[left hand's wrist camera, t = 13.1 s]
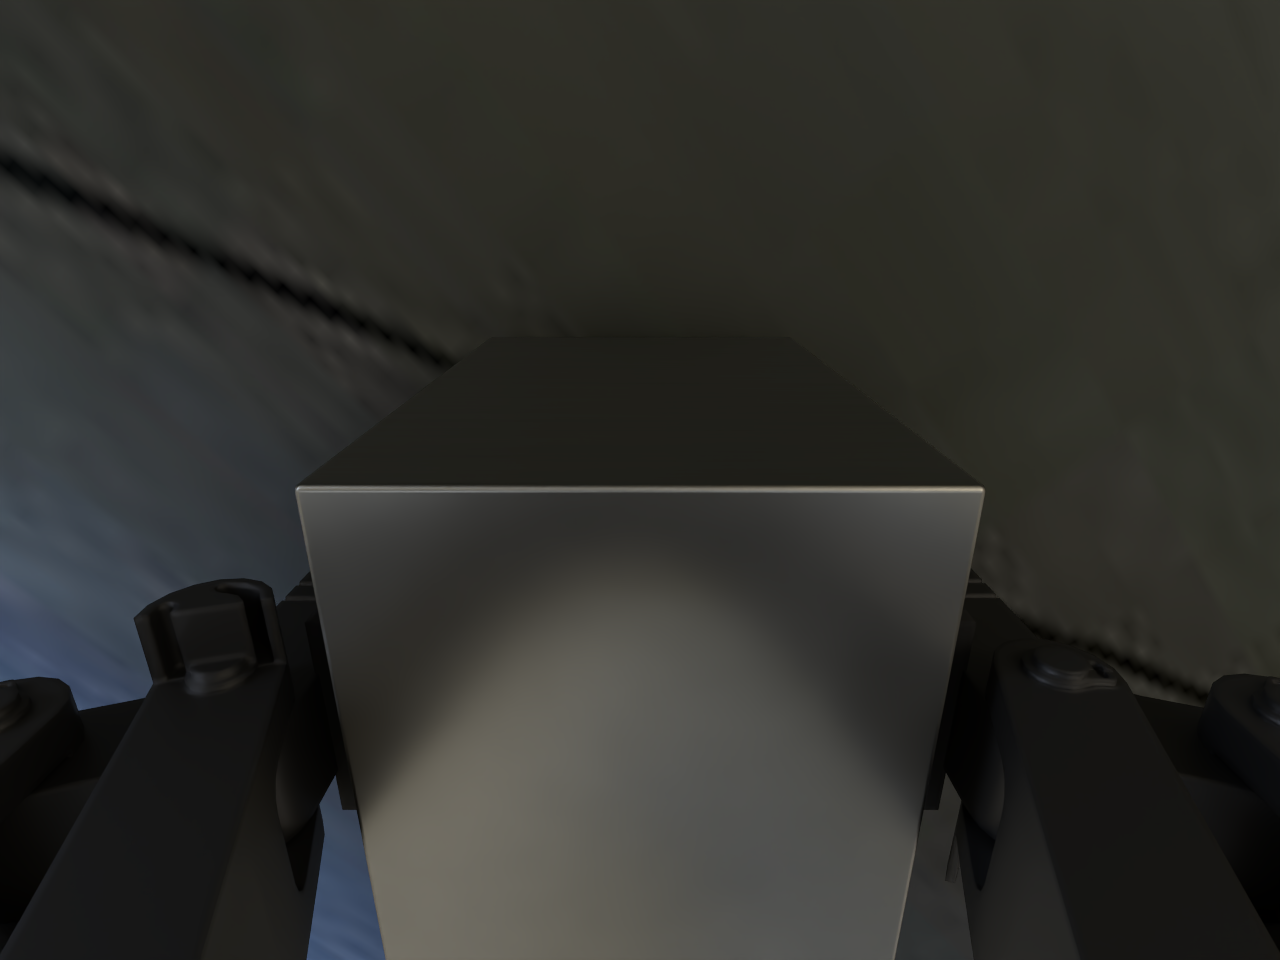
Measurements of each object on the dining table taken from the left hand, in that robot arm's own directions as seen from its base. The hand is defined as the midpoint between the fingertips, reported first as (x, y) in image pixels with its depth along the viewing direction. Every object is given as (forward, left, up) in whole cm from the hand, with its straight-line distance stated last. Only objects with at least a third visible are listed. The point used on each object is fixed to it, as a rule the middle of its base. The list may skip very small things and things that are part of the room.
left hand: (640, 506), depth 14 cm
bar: (+10, +3, -1) cm, 10 cm away
